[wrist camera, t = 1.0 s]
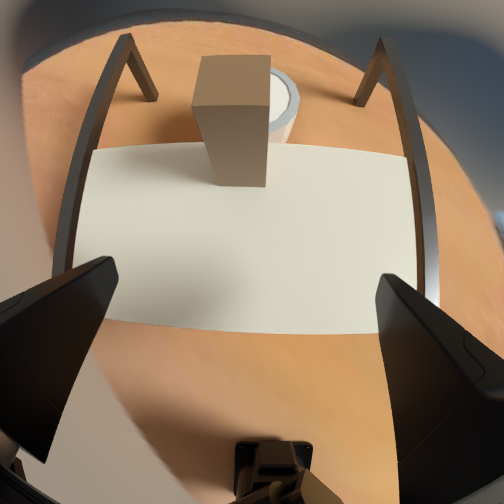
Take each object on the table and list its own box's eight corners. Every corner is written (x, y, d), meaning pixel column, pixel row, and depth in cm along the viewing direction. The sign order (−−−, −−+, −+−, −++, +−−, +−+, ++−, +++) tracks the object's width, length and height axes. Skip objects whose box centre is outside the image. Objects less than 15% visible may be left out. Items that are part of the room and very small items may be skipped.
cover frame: (377, 320, 22) (437, 329, 13) (115, 307, 23) (50, 309, 14) (362, 99, 26) (391, 38, 17) (150, 94, 26) (120, 35, 17)
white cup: (198, 143, 25) (180, 97, 18) (253, 101, 26) (252, 51, 19) (250, 193, 24) (247, 154, 17) (306, 145, 25) (320, 98, 18)
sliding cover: (410, 330, 14) (504, 344, 7) (75, 312, 15) (-21, 313, 7) (402, 161, 16) (468, 91, 8) (97, 153, 16) (31, 88, 9)
